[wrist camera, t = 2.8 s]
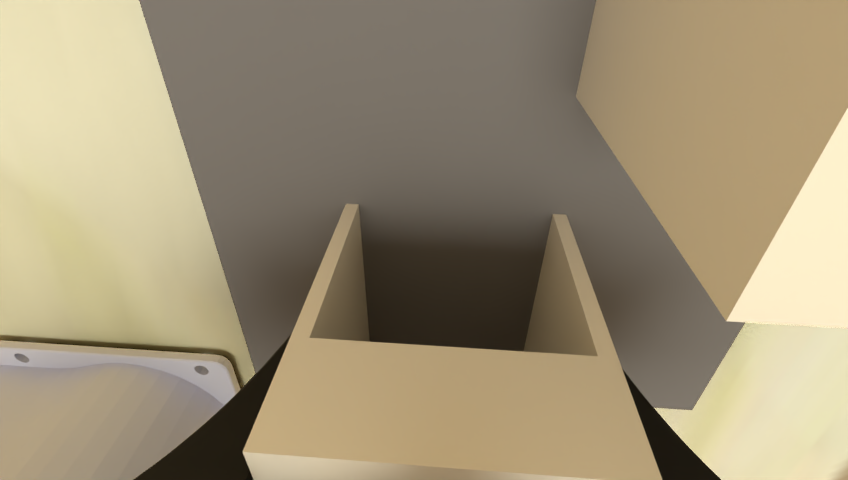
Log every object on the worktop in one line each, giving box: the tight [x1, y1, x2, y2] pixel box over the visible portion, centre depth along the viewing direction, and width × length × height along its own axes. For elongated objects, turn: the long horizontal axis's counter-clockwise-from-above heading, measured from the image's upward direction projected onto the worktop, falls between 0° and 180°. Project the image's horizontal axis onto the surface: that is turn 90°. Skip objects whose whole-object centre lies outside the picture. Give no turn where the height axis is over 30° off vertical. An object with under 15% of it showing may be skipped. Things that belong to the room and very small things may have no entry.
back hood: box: [243, 204, 662, 480], centre depth 11 cm, size 6×6×7 cm
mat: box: [139, 0, 745, 410], centre depth 11 cm, size 16×20×1 cm
